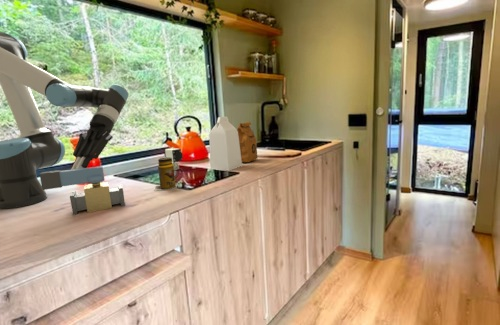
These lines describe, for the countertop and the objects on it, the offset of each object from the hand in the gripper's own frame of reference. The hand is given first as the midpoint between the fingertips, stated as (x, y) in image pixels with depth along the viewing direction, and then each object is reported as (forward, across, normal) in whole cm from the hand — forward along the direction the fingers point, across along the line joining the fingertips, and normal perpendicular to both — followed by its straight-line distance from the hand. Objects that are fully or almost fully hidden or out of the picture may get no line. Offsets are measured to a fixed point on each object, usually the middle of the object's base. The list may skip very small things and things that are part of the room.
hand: (74, 175), depth 97 cm
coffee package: (-49, +32, +69) cm, 90 cm away
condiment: (-10, +15, +28) cm, 33 cm away
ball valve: (+7, +7, +9) cm, 13 cm away
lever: (+3, +2, 0) cm, 4 cm away
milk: (-37, +26, +56) cm, 72 cm away
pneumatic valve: (-34, -1, +52) cm, 62 cm away
